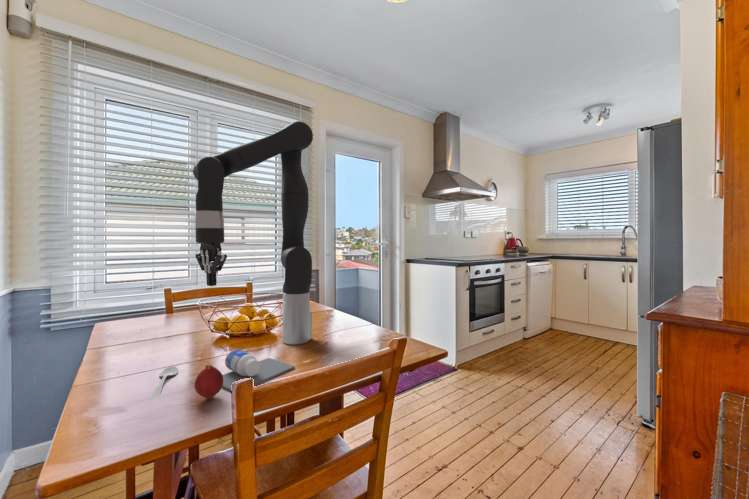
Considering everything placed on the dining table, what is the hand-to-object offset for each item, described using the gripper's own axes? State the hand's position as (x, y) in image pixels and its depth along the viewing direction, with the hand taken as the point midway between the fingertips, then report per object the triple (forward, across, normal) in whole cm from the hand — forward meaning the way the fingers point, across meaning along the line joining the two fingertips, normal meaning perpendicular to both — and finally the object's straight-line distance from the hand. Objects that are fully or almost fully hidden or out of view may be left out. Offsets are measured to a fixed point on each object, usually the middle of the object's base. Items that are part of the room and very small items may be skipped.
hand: (211, 285), depth 96 cm
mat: (+22, -20, 0) cm, 30 cm away
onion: (+22, -22, +14) cm, 34 cm away
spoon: (+23, -6, +17) cm, 29 cm away
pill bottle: (+19, -13, +2) cm, 23 cm away
